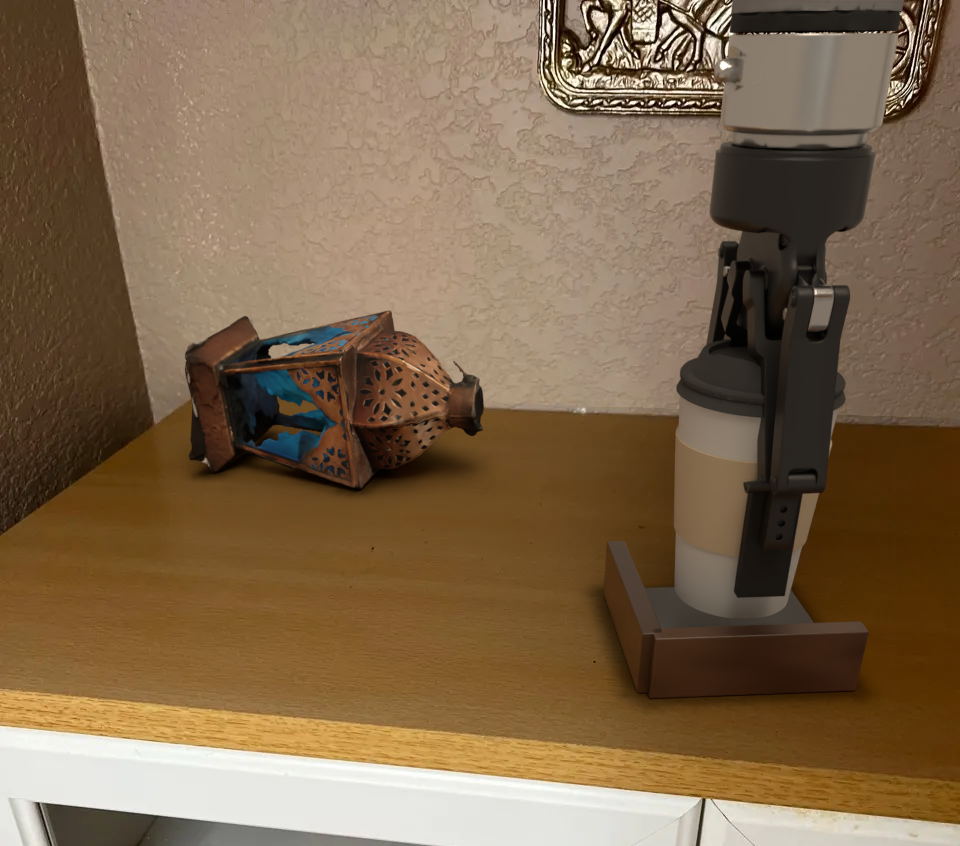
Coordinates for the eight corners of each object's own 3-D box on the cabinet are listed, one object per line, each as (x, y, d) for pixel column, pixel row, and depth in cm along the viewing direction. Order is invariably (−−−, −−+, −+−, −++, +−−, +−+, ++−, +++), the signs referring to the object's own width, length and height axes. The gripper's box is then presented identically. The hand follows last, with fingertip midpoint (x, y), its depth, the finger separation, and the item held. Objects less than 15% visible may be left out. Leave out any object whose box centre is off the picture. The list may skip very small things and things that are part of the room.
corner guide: (785, 588, 67) (794, 535, 65) (856, 691, 56) (869, 631, 54) (603, 594, 67) (606, 540, 65) (639, 699, 56) (644, 639, 54)
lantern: (233, 520, 93) (488, 532, 87) (143, 431, 78) (444, 439, 72) (269, 372, 98) (514, 374, 92) (191, 261, 83) (477, 255, 77)
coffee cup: (710, 546, 66) (740, 317, 58) (834, 591, 60) (885, 345, 53) (626, 591, 60) (647, 346, 53) (754, 645, 55) (797, 380, 47)
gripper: (671, 124, 57) (640, 491, 68) (792, 160, 38) (721, 652, 50) (799, 123, 57) (746, 488, 69) (979, 158, 39) (866, 647, 50)
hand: (736, 557), depth 59 cm, fingers closed on coffee cup, 9 cm apart
